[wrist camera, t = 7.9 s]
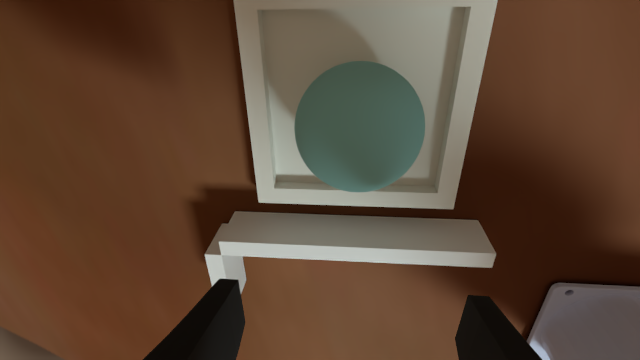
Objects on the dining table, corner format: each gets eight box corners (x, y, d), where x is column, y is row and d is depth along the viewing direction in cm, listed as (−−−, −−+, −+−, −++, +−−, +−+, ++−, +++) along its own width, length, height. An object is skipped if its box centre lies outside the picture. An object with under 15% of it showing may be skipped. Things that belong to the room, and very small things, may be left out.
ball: (418, 50, 16) (453, 75, 11) (405, 159, 18) (429, 219, 13) (298, 52, 16) (279, 77, 11) (303, 158, 19) (290, 217, 14)
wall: (477, 220, 20) (496, 253, 18) (459, 291, 23) (473, 329, 21) (219, 210, 22) (201, 240, 19) (233, 279, 24) (218, 313, 22)
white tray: (491, -22, 14) (502, -23, 13) (448, 197, 20) (453, 209, 19) (239, -16, 15) (231, -17, 14) (263, 192, 21) (258, 202, 20)
